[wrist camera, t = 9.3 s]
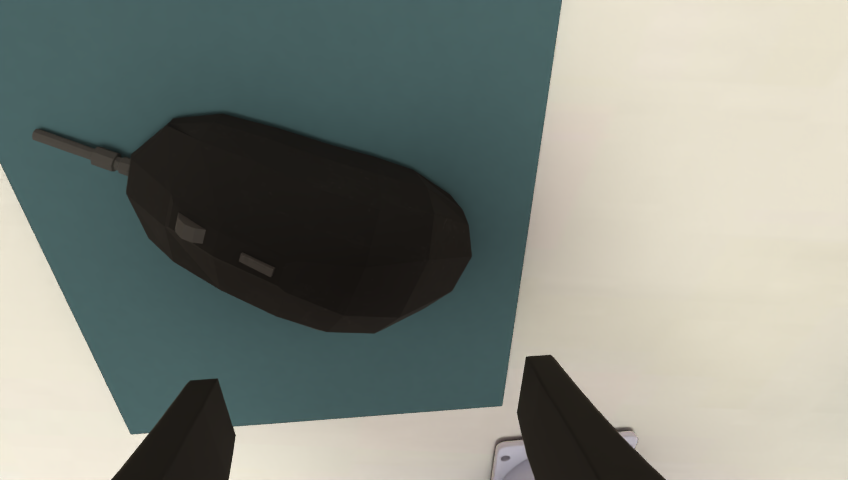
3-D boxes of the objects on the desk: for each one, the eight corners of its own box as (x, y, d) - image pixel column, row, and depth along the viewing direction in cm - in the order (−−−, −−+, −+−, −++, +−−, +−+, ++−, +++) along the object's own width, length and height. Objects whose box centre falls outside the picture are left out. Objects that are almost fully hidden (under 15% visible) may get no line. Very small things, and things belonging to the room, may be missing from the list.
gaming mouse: (42, 33, 14) (-56, 68, 11) (493, 193, 19) (522, 254, 15) (35, 213, 17) (-44, 284, 14) (426, 315, 22) (438, 388, 18)
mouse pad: (500, 401, 26) (502, 406, 25) (133, 429, 24) (130, 434, 24) (592, -230, 13) (596, -233, 12) (-196, -266, 11) (-210, -270, 11)
